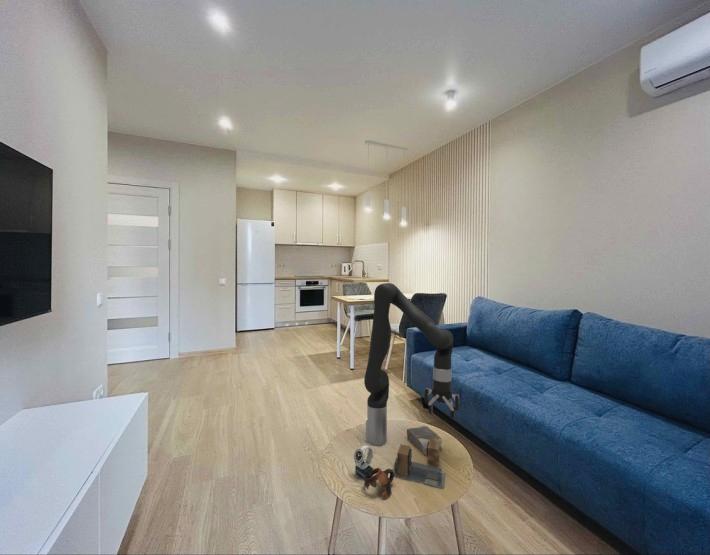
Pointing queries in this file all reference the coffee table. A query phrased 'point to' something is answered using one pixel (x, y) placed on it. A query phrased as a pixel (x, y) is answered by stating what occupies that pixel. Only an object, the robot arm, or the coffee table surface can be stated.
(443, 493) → the coffee table surface
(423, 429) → the geological specimen
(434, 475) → the grey and brown stand
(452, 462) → the coffee table surface
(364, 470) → the watch
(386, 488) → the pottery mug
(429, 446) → the brown wooden block
